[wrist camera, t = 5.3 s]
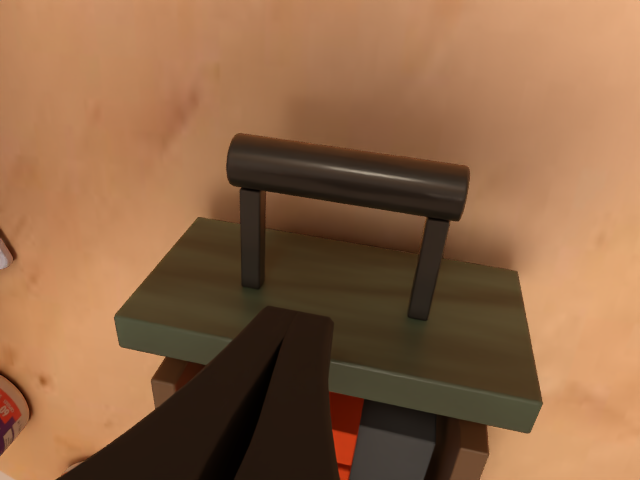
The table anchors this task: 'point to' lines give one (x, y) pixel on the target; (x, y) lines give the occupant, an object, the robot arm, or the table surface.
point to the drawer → (351, 296)
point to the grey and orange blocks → (380, 439)
